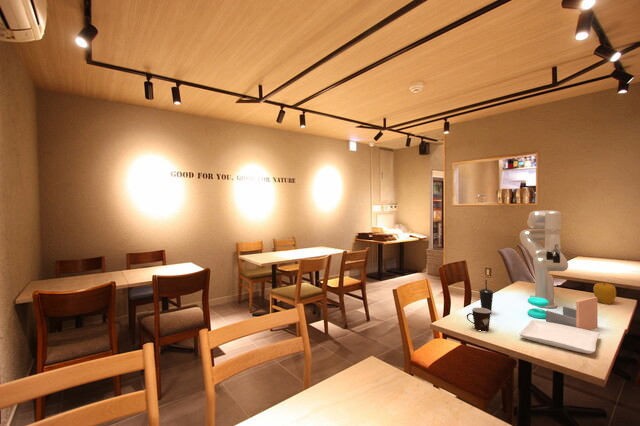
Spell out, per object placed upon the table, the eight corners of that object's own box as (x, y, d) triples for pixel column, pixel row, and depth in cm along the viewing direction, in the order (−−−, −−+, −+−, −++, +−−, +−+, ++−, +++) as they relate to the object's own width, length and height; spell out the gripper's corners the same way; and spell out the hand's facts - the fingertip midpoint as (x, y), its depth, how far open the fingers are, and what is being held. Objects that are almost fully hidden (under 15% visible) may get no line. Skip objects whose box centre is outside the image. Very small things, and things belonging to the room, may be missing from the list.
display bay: (546, 323, 166) (545, 294, 166) (564, 318, 173) (564, 290, 172) (579, 334, 152) (578, 301, 152) (597, 328, 159) (597, 297, 159)
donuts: (535, 301, 172) (523, 296, 182) (535, 319, 173) (523, 313, 183) (553, 301, 173) (540, 296, 183) (553, 319, 173) (540, 312, 183)
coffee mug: (489, 327, 163) (489, 308, 163) (492, 333, 155) (492, 313, 155) (465, 324, 167) (464, 306, 167) (467, 331, 159) (466, 311, 159)
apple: (593, 299, 206) (593, 280, 206) (616, 302, 199) (616, 282, 199) (592, 303, 198) (592, 283, 198) (616, 306, 191) (616, 285, 191)
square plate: (600, 339, 147) (600, 331, 147) (594, 360, 128) (594, 351, 127) (532, 324, 166) (532, 317, 166) (518, 341, 147) (518, 332, 147)
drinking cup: (493, 312, 185) (492, 279, 185) (494, 316, 178) (494, 282, 178) (478, 310, 189) (478, 278, 188) (479, 314, 182) (479, 281, 181)
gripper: (539, 230, 190) (540, 258, 191) (551, 233, 174) (551, 263, 174) (554, 230, 188) (554, 258, 189) (567, 233, 172) (567, 264, 172)
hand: (553, 261), depth 182 cm, fingers open, 9 cm apart
